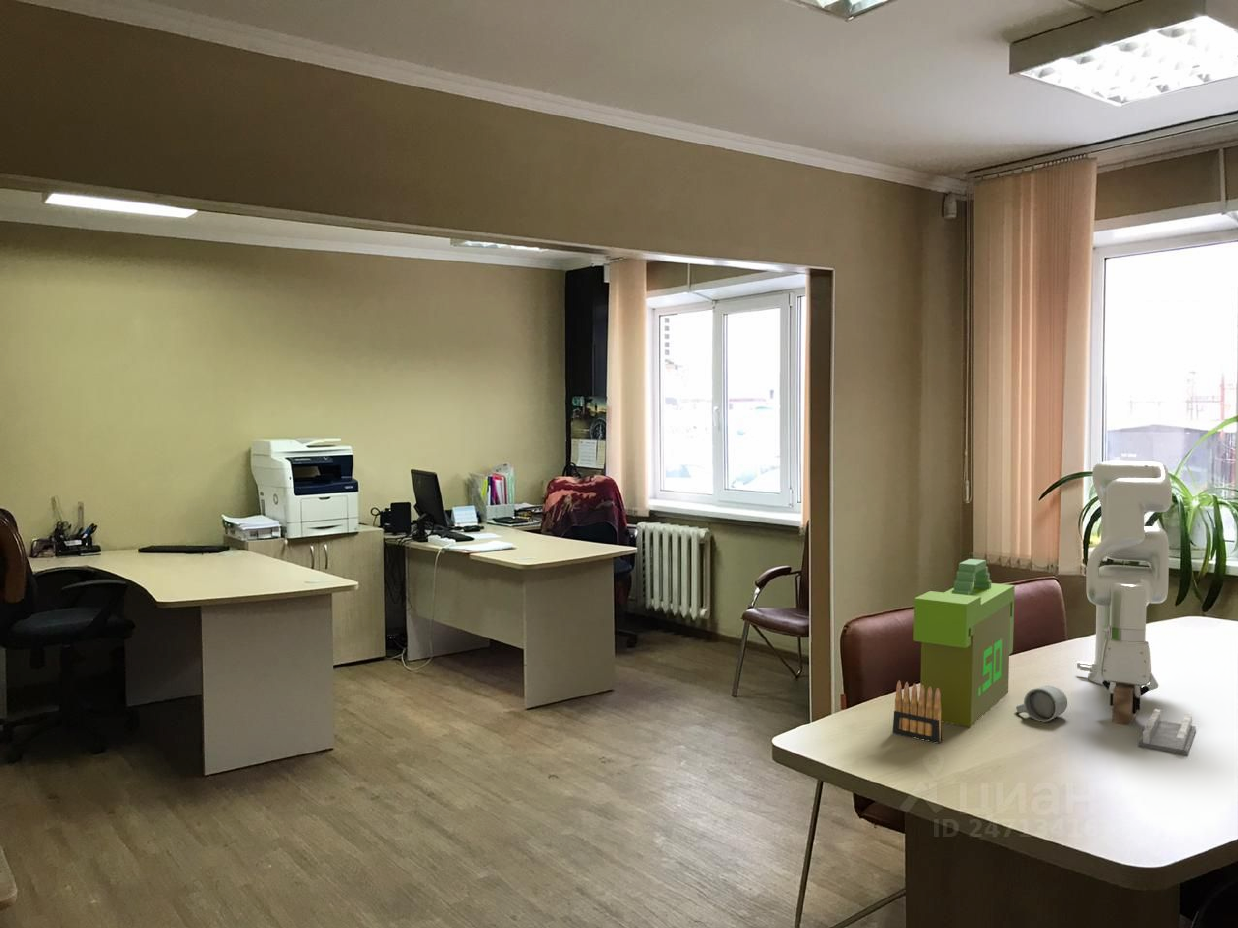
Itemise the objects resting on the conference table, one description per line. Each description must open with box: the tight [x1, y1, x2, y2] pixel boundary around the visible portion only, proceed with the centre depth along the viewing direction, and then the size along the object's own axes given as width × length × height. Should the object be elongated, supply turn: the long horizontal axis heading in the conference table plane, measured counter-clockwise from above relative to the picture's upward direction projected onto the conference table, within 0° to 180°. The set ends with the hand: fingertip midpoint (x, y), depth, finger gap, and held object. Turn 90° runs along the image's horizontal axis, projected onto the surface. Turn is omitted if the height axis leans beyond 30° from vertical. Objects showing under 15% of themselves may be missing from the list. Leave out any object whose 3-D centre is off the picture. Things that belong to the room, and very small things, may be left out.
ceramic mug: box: [1015, 685, 1068, 723], centre depth 224 cm, size 11×8×8 cm
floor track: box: [1138, 708, 1197, 756], centre depth 209 cm, size 9×20×4 cm, turn 144°
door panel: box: [1111, 683, 1138, 726], centre depth 224 cm, size 4×12×8 cm, turn 144°
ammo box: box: [912, 558, 1015, 728], centre depth 232 cm, size 45×12×35 cm, turn 145°
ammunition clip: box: [892, 679, 943, 744], centre depth 209 cm, size 11×2×12 cm, turn 50°
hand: (1124, 710), depth 224 cm, fingers closed on door panel, 3 cm apart
